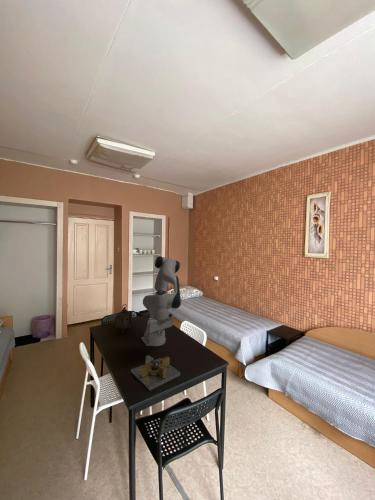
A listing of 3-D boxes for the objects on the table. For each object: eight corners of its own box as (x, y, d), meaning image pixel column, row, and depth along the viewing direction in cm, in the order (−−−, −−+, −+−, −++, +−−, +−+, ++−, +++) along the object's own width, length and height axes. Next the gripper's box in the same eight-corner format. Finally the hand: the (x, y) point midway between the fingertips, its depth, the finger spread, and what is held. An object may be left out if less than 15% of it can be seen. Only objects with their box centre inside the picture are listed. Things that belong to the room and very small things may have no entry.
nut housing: (131, 372, 134) (131, 361, 134) (160, 360, 149) (160, 350, 149) (149, 390, 118) (149, 378, 118) (180, 375, 132) (180, 364, 132)
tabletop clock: (123, 333, 193) (123, 306, 193) (114, 332, 196) (115, 305, 196) (132, 328, 207) (132, 302, 207) (124, 327, 210) (124, 301, 210)
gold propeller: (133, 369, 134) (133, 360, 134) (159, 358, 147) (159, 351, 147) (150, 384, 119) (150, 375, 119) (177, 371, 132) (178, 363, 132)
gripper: (150, 319, 133) (149, 341, 133) (174, 313, 148) (174, 333, 148) (144, 317, 138) (144, 338, 138) (168, 311, 153) (168, 331, 152)
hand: (159, 336), depth 143 cm, fingers closed
